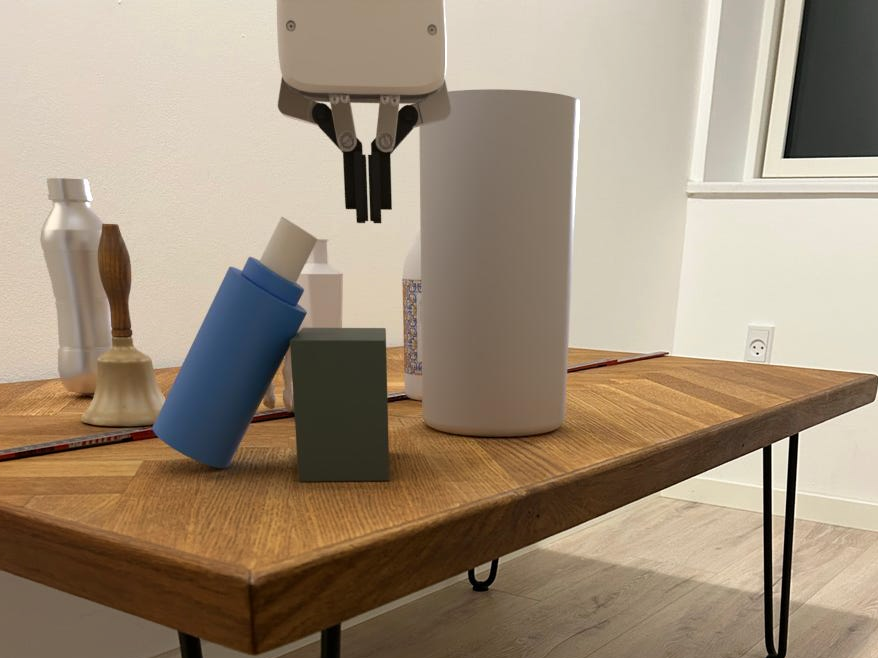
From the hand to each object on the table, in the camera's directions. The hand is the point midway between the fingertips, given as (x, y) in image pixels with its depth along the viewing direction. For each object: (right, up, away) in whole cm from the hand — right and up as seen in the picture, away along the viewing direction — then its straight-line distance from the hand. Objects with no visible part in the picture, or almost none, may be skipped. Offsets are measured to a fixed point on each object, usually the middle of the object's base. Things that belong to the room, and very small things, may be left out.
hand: (369, 222), depth 61 cm
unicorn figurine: (-13, -4, +32) cm, 35 cm away
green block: (-2, -15, +6) cm, 16 cm away
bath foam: (+3, -2, +37) cm, 37 cm away
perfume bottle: (-7, -7, +26) cm, 28 cm away
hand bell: (-24, -8, +23) cm, 34 cm away
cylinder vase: (+8, -9, +22) cm, 25 cm away
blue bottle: (-10, -15, +5) cm, 19 cm away
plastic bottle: (-32, -2, +36) cm, 48 cm away
